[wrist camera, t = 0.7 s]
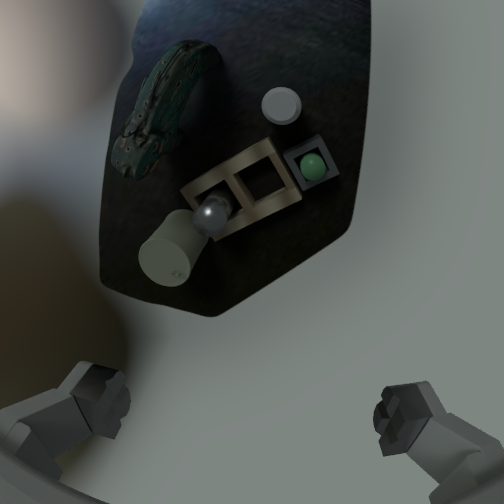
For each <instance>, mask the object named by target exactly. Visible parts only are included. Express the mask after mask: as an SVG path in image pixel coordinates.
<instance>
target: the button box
mask: <svg viewBox="0 0 504 504" xmlns="http://www.w3.org/2000/svg"><path fill="white" fill-rule="evenodd" d="M316 147H318V148H319V150H320V152H321V153H322V155H323V157H324V159H325V161H326V163H327V166H325V167H326V170H325V173H324V175H323V176H322V177H321V178H320V179H318V180H308V179H306V178H305V177H304V176H303V175H302V173H301V168H300V166H299V164H298V162H297V160H296V159H295V158H296V157H298V156H300V155H302V154H304V153H306V152H308V151H310V150H312V149H314V148H316ZM283 156H284V158H285V160H286V161H287V163H288V165H289V167H290V168H291V170H292V172H293V174H294V176H295V177H296V179H297V181H298V183H299V185H300V186H301V188H302V190H303V191H304V190H306V189H309V188H311V187H313V186H315V185H317V184H319V183H321V182H323V181H325V180H328V179H330V178H332V177H334V176H336V175H338V174H339V172H338V169H337V167H336V165H335V163H334V161H333V159H332V157H331V155H330V153H329V151H328V149H327V148H326V146H325V144H324V142H323V140H322V138H321V136H320V135H319V134H318V135H316V136H314V137H312V138H310V139H308V140H306V141H304V142H302V143H300V144H298V145H296V146H294V147H292V148H290V149H288V150H286V151H284V154H283Z"/></svg>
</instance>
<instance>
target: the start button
mask: <svg viewBox="0 0 504 504" xmlns="http://www.w3.org/2000/svg"><path fill="white" fill-rule="evenodd" d="M300 168H301V173H302V175H303V176H304V177H305V178H306V179H308V180H318V179H320V178H321V177H322V176H323V175H324V173H325V170H326V167H325V164H324V162H323V160H322V158H321V156H320V155H318V154H316V153H307V154H305V155H304V156H303V157H302V158H301V161H300Z"/></svg>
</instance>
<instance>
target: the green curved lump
mask: <svg viewBox="0 0 504 504" xmlns="http://www.w3.org/2000/svg"><path fill="white" fill-rule="evenodd" d="M220 58H221V55H220V54H219V52H218V50H217V48H216V47H214V46H213V45H211V44H210V43H205V42H203V41H200V40H184V41H181V42H179V43H177V44H175V45H174V46H173V47H171V48H170V49H169V50H168V51H167V52H166V53H165V55H164V56H163V57H162V58H161V59H160V60H159V62H158V63H157V64H156V65H155V67H154V68H153V70H152V72H151V74H150V75H148V76H146V77H144V80H143V82H142V85H141V88H140V91H139V94H138V97H137V100H136V103H135V107H134V110H133V111H132V112H131V113H130V115H129V116H128V118H127V119H126V121H125V122H124V124H123V126H122V128H121V132H120V135H119V137H118V139H117V140H116V142H115V144H114V147H113V150H112V155H111V162H112V165H113V166H114V167H115V168H116V169H117V170H119V171H120V172H121V173H123V177H124V178H128V177H129V178H131V179H134V180H136V181H140V180H141V179H143V178H144V177H146V176H147V175H148V174H150V173H151V172H152V171H153V170H154V169H155V167H156V165H157V164H158V162H159V160H160V157H161V156H162V155H164V154H169V153H171V152H172V151H173V150H174V149H177V148H178V147H180V144H181V142H182V140H183V138H184V135H185V132H184V131H183V130H182V129H180V128H179V127H178V121H179V118H180V116H181V114H182V112H183V109H184V107H185V105H186V103H187V101H188V98H189V96H190V94H191V91H192V89H193V88H194V86H195V84H196V83H197V81H198V80H199V78H200V77H201V76H202V75H203V74H204V73H205V72H206V71H208V70H210V69H214V68H215V67H216V66H217V64H218V63H219V61H220Z"/></svg>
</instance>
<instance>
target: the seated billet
mask: <svg viewBox="0 0 504 504" xmlns="http://www.w3.org/2000/svg"><path fill="white" fill-rule="evenodd" d="M235 204H236V196H235V195H234V193H233V192H232V190H231V188H229V187H227V186H217V187H215V188H214V189H213V190H212V191H211V192H210V194H209V195H208V196H207V197H206V199H205V200H204V201H203V203H202V204H201V205H200V207H199V208H198V209H197V211H196V212H195V213H194V215H193V219H192V222H193V226H194V228H195V230H196V231H197V232H198V233H199V234H201V235H203V236H205V237H215V236H217V235H219V234H220V233H221V232H222V231H223V229H224V226H225V224H226V222H227V220H228V218H229V216H230V214H231V212H232V210H233V208H234V206H235Z"/></svg>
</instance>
